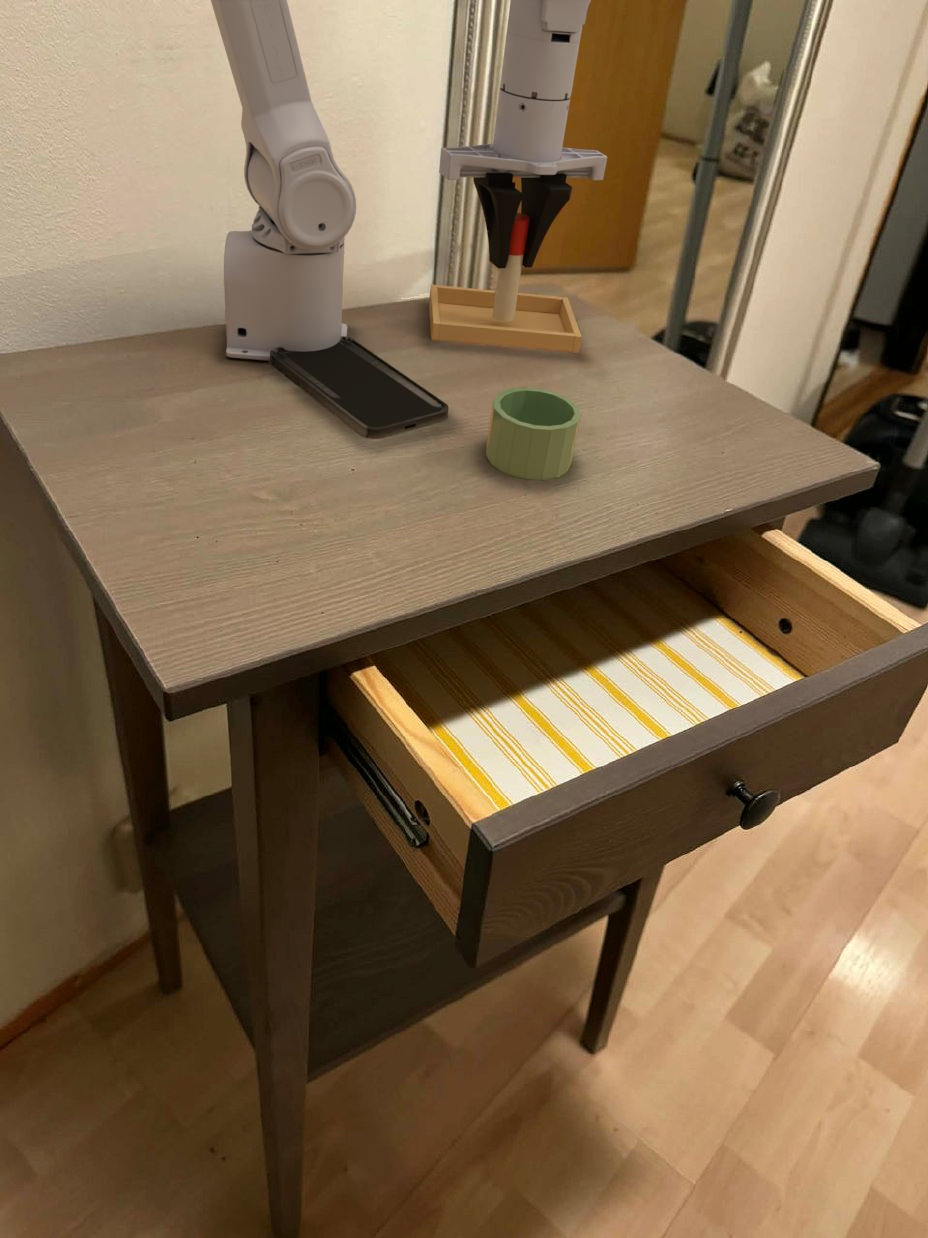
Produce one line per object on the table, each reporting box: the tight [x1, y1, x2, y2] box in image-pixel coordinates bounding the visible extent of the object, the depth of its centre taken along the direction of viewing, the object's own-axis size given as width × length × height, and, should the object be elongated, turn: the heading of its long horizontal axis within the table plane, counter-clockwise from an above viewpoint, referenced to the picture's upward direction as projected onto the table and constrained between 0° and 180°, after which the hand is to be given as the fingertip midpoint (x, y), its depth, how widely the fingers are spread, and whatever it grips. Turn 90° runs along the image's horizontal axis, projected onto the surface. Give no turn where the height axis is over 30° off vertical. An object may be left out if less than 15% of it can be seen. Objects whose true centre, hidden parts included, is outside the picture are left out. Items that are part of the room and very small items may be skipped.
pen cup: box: [485, 386, 582, 481], centre depth 68 cm, size 6×6×4 cm
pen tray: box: [428, 284, 582, 354], centre depth 87 cm, size 13×9×2 cm
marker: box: [493, 212, 530, 322], centre depth 84 cm, size 2×2×9 cm
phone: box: [269, 336, 449, 440], centre depth 74 cm, size 8×1×15 cm
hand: (510, 263), depth 84 cm, fingers closed on marker, 2 cm apart
